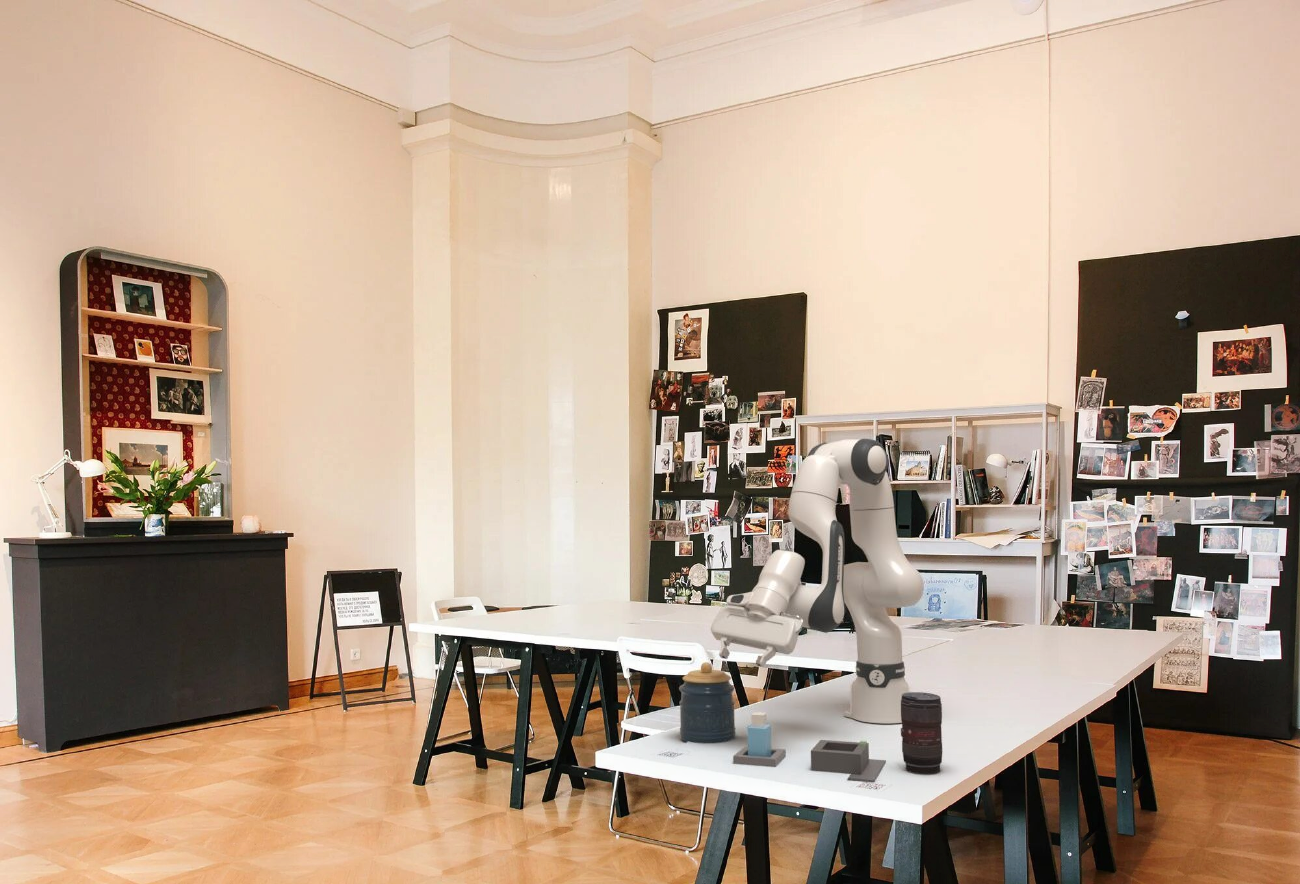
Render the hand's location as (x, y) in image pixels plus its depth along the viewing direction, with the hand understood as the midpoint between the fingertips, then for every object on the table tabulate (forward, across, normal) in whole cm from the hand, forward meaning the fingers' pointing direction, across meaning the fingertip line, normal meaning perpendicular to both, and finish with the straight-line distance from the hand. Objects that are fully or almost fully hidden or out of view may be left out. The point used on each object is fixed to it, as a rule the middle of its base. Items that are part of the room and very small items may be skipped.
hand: (740, 661), depth 218 cm
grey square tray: (+17, -9, -10) cm, 21 cm away
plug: (+17, -9, -9) cm, 21 cm away
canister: (+11, +12, -20) cm, 26 cm away
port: (+13, -25, -12) cm, 30 cm away
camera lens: (+6, -39, -17) cm, 43 cm away
